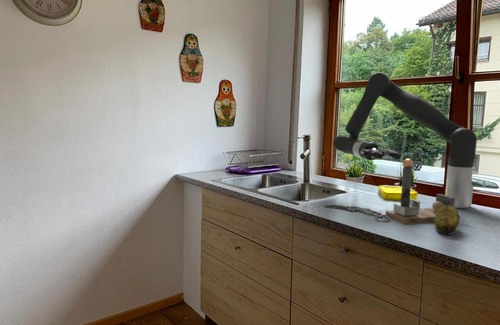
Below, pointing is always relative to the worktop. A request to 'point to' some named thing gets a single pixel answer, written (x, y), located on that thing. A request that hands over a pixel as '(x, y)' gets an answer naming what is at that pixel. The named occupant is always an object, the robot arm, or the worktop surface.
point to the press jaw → (407, 193)
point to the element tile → (394, 193)
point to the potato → (447, 219)
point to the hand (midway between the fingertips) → (391, 156)
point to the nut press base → (422, 212)
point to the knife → (363, 210)
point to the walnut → (437, 205)
